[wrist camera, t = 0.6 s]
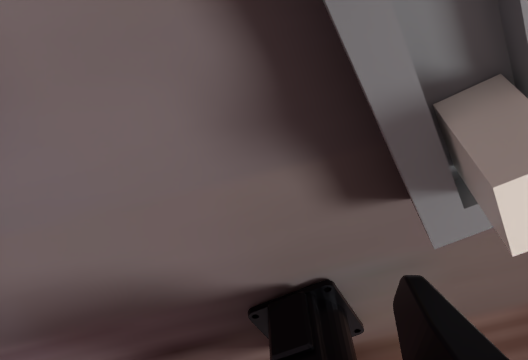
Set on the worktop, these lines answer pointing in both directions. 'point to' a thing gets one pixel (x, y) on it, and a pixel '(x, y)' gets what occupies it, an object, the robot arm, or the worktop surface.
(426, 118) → the switch bank
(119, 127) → the worktop surface
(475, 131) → the tab
